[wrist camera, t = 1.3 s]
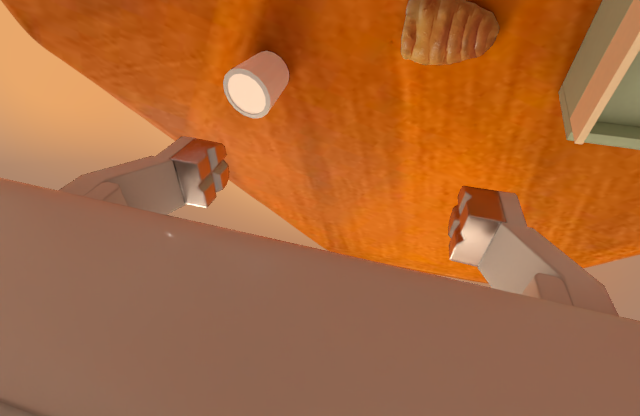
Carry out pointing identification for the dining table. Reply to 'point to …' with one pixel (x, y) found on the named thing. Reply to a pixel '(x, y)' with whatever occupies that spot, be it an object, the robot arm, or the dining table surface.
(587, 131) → the spice rack
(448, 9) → the pastry
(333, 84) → the dining table surface
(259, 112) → the white short cylinder
